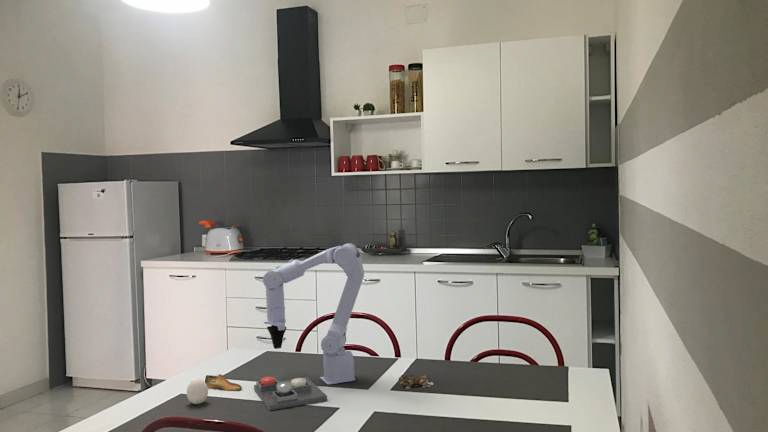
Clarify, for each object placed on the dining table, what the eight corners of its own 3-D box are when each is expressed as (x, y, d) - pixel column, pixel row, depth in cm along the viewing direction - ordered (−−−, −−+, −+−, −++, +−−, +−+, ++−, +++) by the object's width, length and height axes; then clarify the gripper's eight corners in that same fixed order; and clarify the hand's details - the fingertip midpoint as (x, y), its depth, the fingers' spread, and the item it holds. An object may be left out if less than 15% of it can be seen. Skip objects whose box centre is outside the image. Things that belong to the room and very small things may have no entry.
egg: (209, 399, 196) (208, 374, 195) (207, 406, 190) (206, 380, 189) (188, 401, 195) (187, 376, 194) (186, 408, 189) (184, 382, 188)
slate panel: (306, 381, 210) (306, 372, 210) (327, 400, 190) (326, 390, 190) (254, 389, 203) (253, 380, 203) (269, 410, 184) (269, 400, 184)
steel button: (290, 389, 192) (289, 381, 192) (294, 393, 188) (293, 385, 188) (275, 391, 191) (274, 383, 190) (279, 396, 187) (278, 387, 186)
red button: (273, 383, 203) (273, 376, 203) (277, 387, 199) (276, 379, 199) (259, 386, 201) (259, 378, 201) (262, 390, 197) (262, 381, 197)
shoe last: (237, 393, 202) (236, 378, 201) (202, 388, 208) (201, 373, 207) (245, 389, 206) (245, 374, 205) (211, 384, 211) (211, 369, 211)
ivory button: (303, 385, 201) (303, 377, 201) (307, 389, 197) (307, 381, 197) (289, 387, 199) (289, 379, 199) (293, 391, 195) (293, 383, 195)
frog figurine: (405, 394, 195) (405, 381, 195) (390, 383, 206) (390, 371, 206) (440, 388, 199) (439, 376, 199) (424, 378, 210) (423, 366, 210)
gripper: (258, 304, 217) (260, 344, 217) (268, 311, 203) (270, 354, 204) (279, 302, 219) (281, 342, 220) (290, 309, 206) (292, 351, 207)
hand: (277, 348), depth 212 cm, fingers closed
